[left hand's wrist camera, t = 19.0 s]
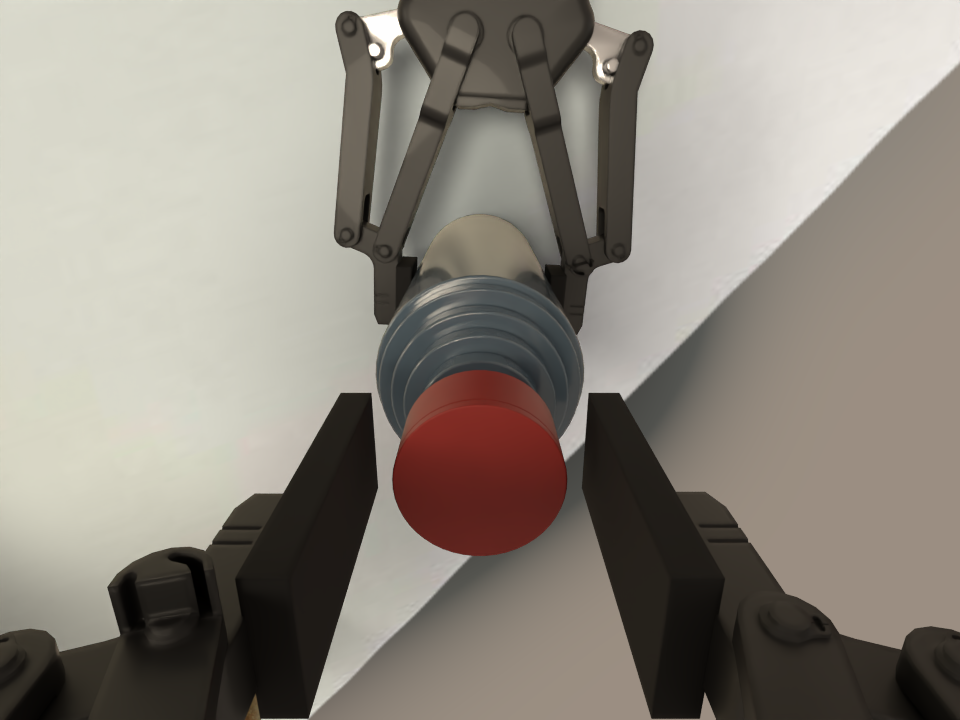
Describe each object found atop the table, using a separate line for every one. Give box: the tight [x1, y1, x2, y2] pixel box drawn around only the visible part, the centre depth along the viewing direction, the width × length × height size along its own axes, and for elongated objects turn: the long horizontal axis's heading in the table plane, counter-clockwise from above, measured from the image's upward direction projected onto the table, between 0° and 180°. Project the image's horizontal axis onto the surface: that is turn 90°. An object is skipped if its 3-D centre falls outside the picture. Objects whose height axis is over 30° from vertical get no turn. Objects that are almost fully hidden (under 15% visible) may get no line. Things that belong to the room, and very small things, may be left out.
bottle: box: [376, 214, 584, 439], centre depth 24 cm, size 7×7×23 cm
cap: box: [392, 370, 567, 556], centre depth 14 cm, size 4×4×2 cm
